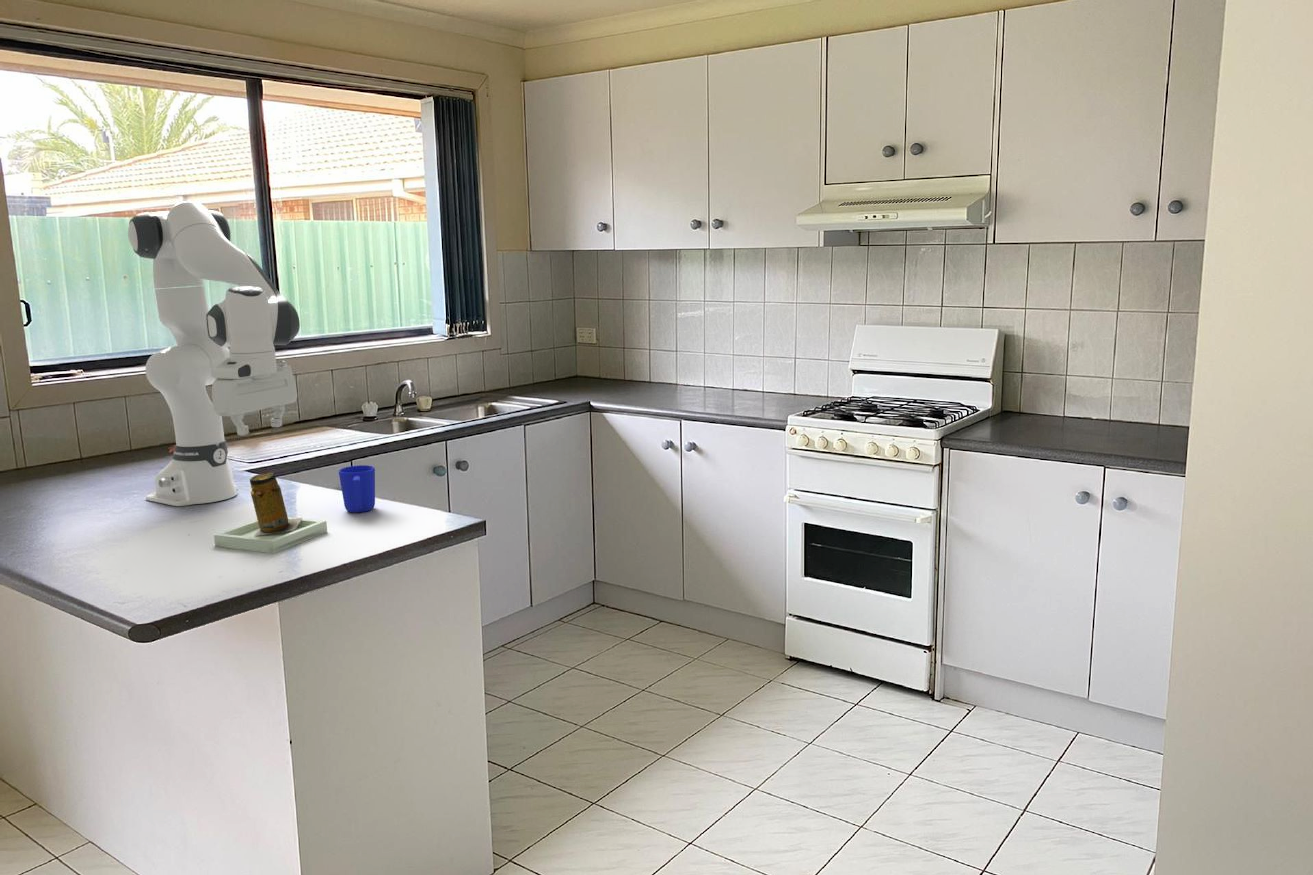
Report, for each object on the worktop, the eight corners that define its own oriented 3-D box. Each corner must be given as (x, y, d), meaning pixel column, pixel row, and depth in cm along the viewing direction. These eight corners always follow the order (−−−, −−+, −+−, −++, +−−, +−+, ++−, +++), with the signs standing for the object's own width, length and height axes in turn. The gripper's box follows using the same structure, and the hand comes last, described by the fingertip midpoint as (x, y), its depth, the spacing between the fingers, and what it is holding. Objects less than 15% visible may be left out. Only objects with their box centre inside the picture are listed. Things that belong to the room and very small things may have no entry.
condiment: (264, 523, 220) (251, 472, 216) (302, 518, 220) (290, 467, 216) (254, 536, 213) (240, 484, 209) (293, 531, 213) (281, 479, 209)
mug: (341, 520, 228) (337, 477, 226) (342, 507, 239) (339, 466, 237) (378, 516, 230) (374, 474, 228) (378, 504, 241) (374, 463, 239)
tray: (215, 546, 210) (213, 534, 210) (270, 525, 225) (269, 515, 224) (273, 553, 204) (272, 541, 203) (327, 531, 218) (326, 520, 218)
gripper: (278, 359, 218) (284, 421, 220) (203, 370, 199) (211, 438, 202) (301, 359, 215) (306, 422, 218) (227, 371, 197) (235, 440, 199)
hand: (260, 430), depth 210 cm, fingers open, 8 cm apart
